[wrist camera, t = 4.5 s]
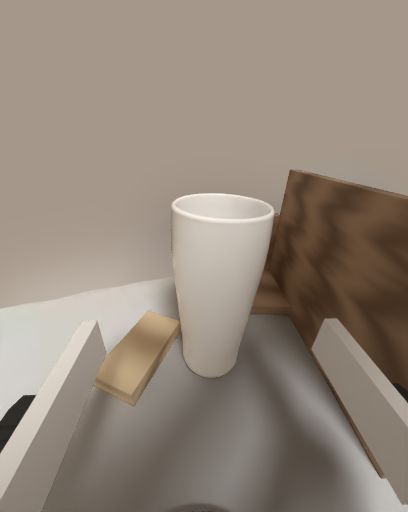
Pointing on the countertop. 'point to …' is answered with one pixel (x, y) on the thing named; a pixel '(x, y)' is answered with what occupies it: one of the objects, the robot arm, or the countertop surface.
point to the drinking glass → (217, 273)
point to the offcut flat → (137, 357)
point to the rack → (342, 269)
